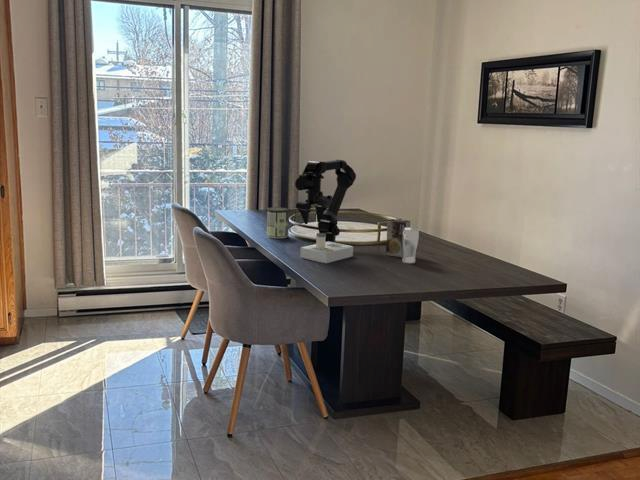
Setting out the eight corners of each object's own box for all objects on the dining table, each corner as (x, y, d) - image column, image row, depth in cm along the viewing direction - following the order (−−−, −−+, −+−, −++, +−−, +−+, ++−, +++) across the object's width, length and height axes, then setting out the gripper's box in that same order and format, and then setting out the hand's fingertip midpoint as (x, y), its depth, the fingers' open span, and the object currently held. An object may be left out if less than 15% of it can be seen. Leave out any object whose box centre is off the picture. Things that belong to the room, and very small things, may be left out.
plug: (319, 254, 290) (320, 232, 288) (326, 256, 287) (327, 234, 285) (313, 256, 287) (314, 233, 285) (320, 257, 284) (321, 235, 282)
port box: (327, 250, 303) (328, 240, 302) (352, 256, 295) (353, 245, 294) (300, 257, 288) (300, 246, 287) (325, 263, 279) (326, 252, 278)
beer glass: (406, 264, 284) (409, 230, 281) (397, 260, 290) (400, 227, 287) (419, 263, 287) (422, 229, 284) (410, 259, 293) (413, 226, 290)
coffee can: (274, 233, 337) (275, 206, 334) (290, 236, 331) (291, 208, 329) (262, 236, 328) (262, 208, 325) (278, 239, 323) (279, 211, 320)
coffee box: (408, 255, 303) (411, 220, 299) (404, 257, 297) (406, 222, 294) (389, 252, 306) (392, 218, 303) (384, 255, 301) (387, 220, 297)
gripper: (315, 192, 284) (313, 228, 287) (340, 189, 298) (339, 223, 301) (295, 189, 290) (294, 224, 293) (321, 186, 305) (319, 219, 308)
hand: (312, 223), depth 299 cm, fingers open, 9 cm apart
